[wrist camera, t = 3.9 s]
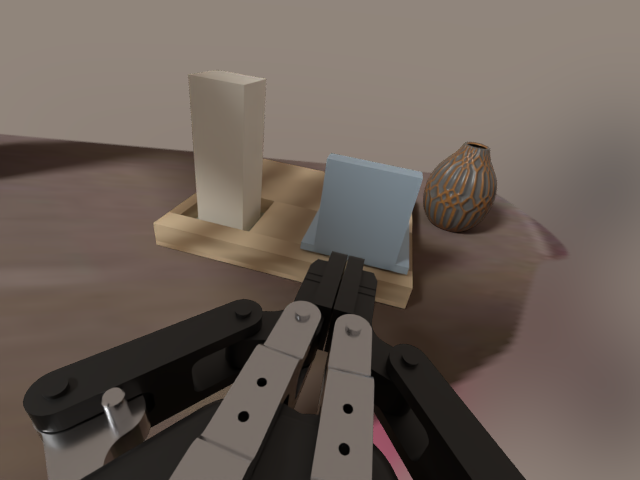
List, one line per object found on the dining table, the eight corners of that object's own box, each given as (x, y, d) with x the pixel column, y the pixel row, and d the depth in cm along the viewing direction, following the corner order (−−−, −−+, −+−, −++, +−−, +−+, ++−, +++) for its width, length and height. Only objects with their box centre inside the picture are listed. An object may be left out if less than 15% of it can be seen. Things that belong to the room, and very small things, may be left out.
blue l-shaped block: (300, 248, 25) (311, 155, 21) (323, 204, 32) (335, 127, 28) (406, 274, 24) (439, 182, 20) (407, 223, 31) (432, 146, 27)
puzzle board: (156, 244, 27) (153, 223, 26) (247, 170, 42) (248, 155, 41) (404, 309, 24) (412, 288, 23) (407, 206, 39) (411, 190, 38)
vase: (403, 210, 38) (427, 133, 34) (449, 206, 41) (476, 134, 36) (444, 243, 33) (478, 158, 29) (492, 236, 36) (531, 157, 31)
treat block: (199, 227, 29) (188, 74, 22) (220, 207, 32) (217, 69, 26) (242, 238, 28) (244, 85, 22) (260, 217, 32) (266, 79, 25)
